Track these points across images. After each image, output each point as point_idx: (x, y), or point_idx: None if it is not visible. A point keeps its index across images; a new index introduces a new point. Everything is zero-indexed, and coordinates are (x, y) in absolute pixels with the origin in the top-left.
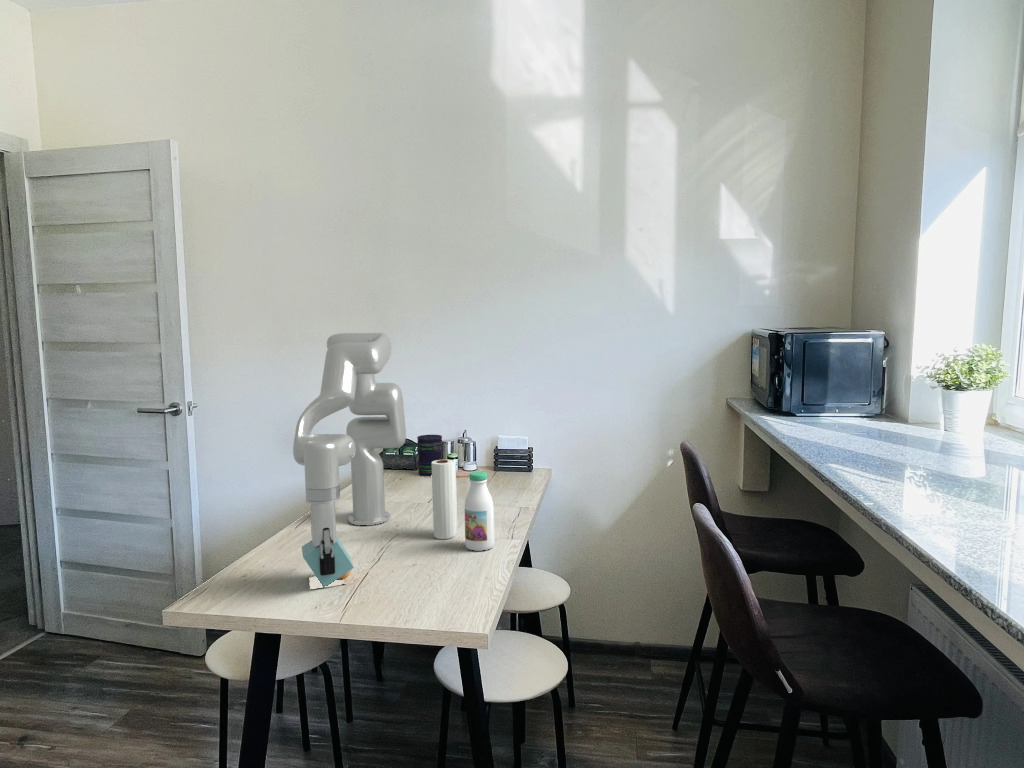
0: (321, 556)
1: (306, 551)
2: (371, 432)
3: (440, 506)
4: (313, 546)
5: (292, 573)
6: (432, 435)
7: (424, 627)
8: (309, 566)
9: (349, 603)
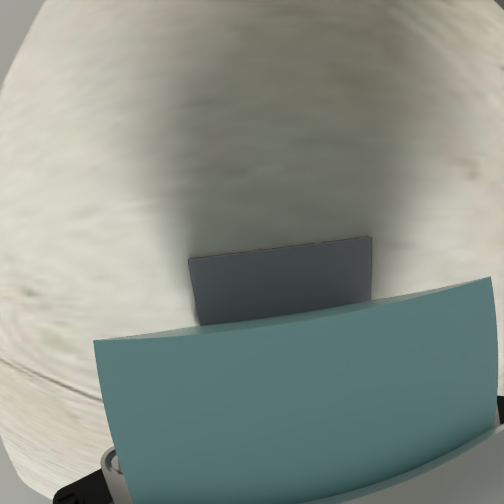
0: (102, 464)
1: (234, 392)
2: None
3: None
4: (264, 482)
5: (438, 161)
6: None
7: (10, 452)
8: (144, 334)
9: (62, 389)
